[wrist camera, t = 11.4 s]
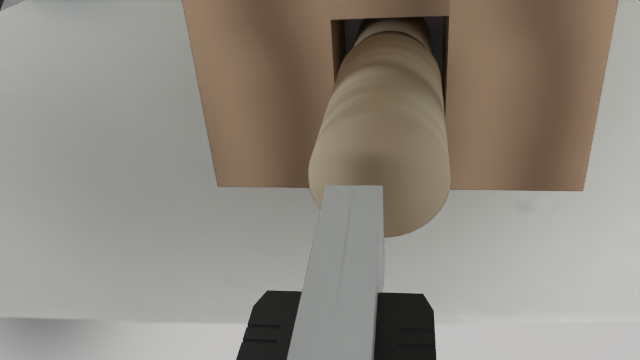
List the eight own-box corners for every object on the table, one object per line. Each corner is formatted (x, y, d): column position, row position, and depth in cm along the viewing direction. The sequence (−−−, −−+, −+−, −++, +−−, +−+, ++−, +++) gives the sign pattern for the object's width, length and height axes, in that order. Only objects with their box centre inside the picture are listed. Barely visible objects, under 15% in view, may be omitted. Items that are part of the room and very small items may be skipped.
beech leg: (352, 82, 31) (314, 236, 19) (348, -1, 29) (302, 116, 17) (435, 80, 31) (448, 239, 19) (437, -5, 28) (453, 114, 17)
